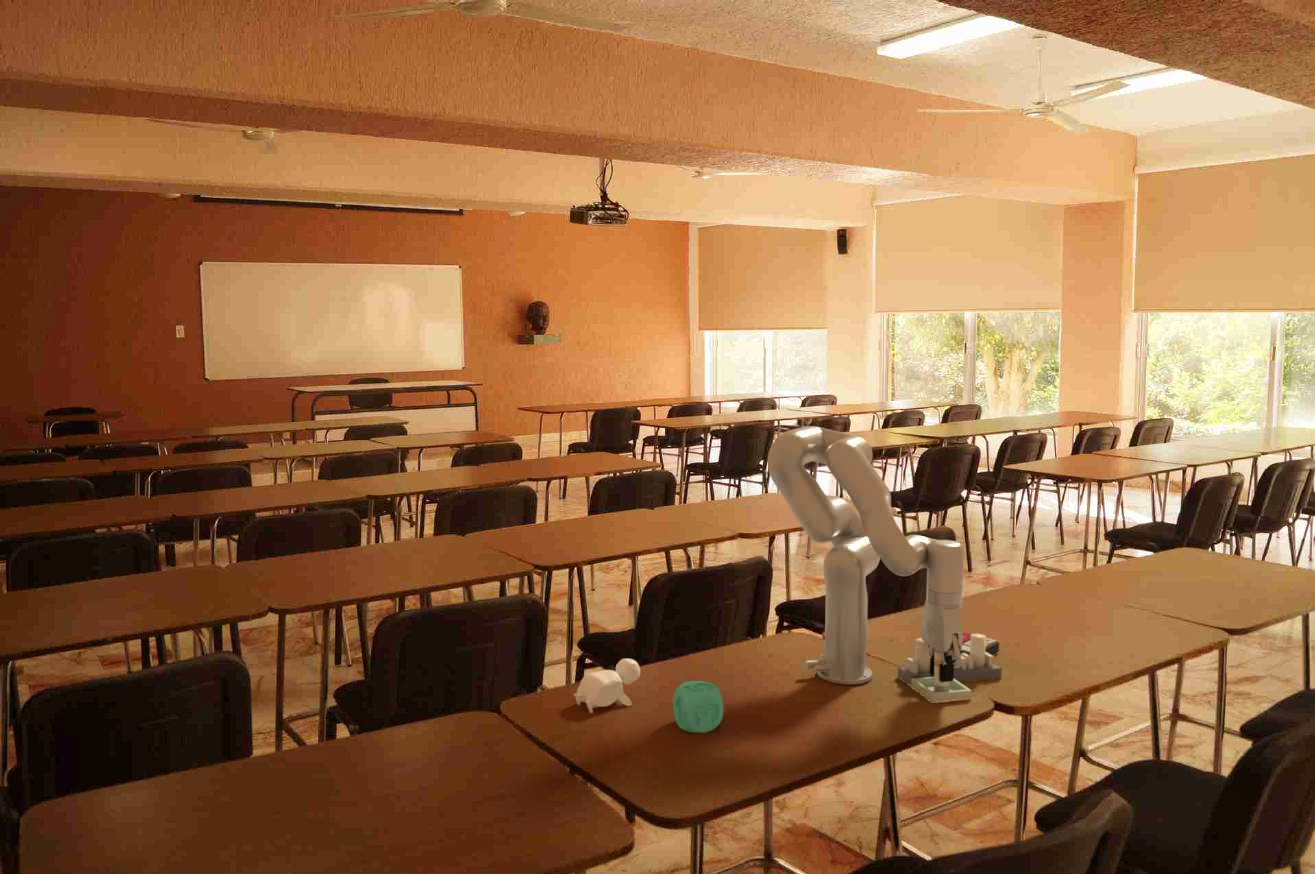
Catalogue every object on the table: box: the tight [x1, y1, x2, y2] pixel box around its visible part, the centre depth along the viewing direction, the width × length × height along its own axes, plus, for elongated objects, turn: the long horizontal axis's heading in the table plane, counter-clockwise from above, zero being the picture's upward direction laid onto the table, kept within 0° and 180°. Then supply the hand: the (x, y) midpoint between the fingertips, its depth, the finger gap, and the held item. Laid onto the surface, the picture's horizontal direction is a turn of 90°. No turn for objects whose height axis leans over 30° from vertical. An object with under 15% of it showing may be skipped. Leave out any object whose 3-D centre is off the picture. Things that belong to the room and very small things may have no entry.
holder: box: [897, 633, 1003, 685], centre depth 225 cm, size 23×6×10 cm, turn 104°
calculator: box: [960, 632, 1000, 656], centre depth 241 cm, size 11×4×15 cm
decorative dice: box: [672, 680, 724, 734], centre depth 199 cm, size 8×8×8 cm
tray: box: [910, 677, 973, 702], centre depth 216 cm, size 9×9×2 cm
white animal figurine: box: [573, 658, 641, 714], centre depth 211 cm, size 8×8×15 cm
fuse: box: [934, 648, 951, 692], centre depth 215 cm, size 3×3×10 cm
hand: (941, 677), depth 216 cm, fingers closed on fuse, 3 cm apart
